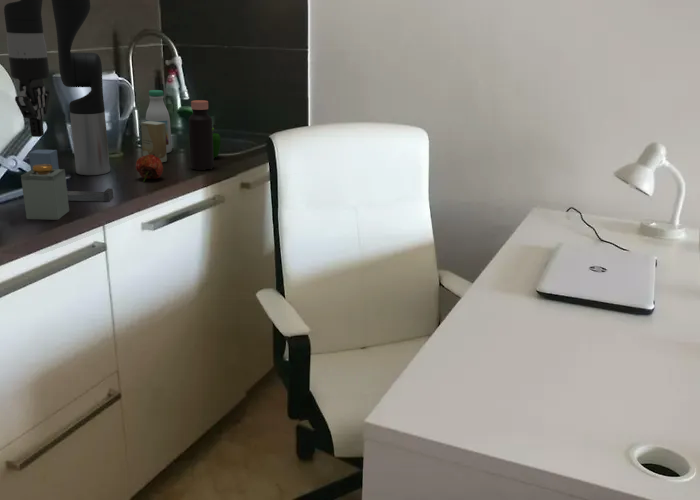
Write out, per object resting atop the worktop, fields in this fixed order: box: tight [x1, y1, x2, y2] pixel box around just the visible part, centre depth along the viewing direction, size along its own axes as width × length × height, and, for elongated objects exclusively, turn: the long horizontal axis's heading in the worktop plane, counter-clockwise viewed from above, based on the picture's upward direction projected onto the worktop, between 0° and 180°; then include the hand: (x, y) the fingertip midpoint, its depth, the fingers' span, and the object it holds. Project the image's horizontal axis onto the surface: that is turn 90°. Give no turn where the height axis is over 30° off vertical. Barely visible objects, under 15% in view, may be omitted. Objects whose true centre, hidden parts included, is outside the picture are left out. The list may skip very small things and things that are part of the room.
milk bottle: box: [145, 89, 173, 154], centre depth 224 cm, size 8×8×20 cm
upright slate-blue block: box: [28, 149, 60, 170], centre depth 168 cm, size 6×5×12 cm
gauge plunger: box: [33, 164, 53, 175], centre depth 154 cm, size 4×4×7 cm
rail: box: [67, 188, 114, 202], centre depth 170 cm, size 4×20×2 cm, turn 92°
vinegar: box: [188, 99, 215, 171], centre depth 203 cm, size 7×7×20 cm
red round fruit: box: [135, 154, 164, 183], centre depth 190 cm, size 7×7×10 cm
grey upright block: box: [20, 168, 70, 221], centre depth 155 cm, size 7×7×10 cm
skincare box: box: [140, 120, 168, 163], centre depth 211 cm, size 6×4×12 cm
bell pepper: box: [212, 127, 222, 159], centre depth 218 cm, size 8×8×10 cm
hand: (37, 136), depth 151 cm, fingers closed
